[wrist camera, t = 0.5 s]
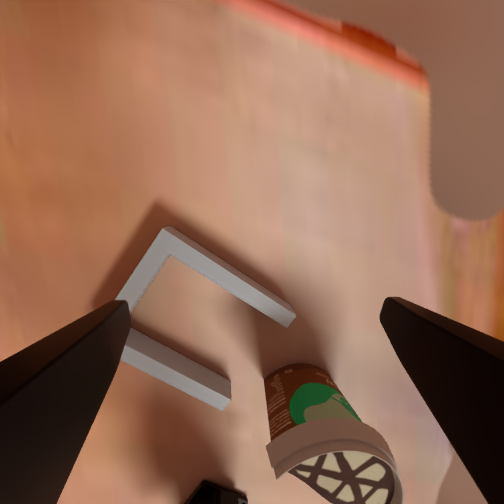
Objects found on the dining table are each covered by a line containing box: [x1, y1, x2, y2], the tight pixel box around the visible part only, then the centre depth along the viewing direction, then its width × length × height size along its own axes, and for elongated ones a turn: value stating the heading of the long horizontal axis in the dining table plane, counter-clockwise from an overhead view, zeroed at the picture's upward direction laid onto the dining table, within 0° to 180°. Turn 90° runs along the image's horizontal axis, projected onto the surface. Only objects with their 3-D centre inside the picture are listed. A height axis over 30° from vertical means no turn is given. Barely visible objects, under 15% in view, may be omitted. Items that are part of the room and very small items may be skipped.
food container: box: [264, 363, 404, 504], centre depth 22 cm, size 12×6×10 cm, turn 49°
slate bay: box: [115, 225, 297, 411], centre depth 23 cm, size 12×14×2 cm
